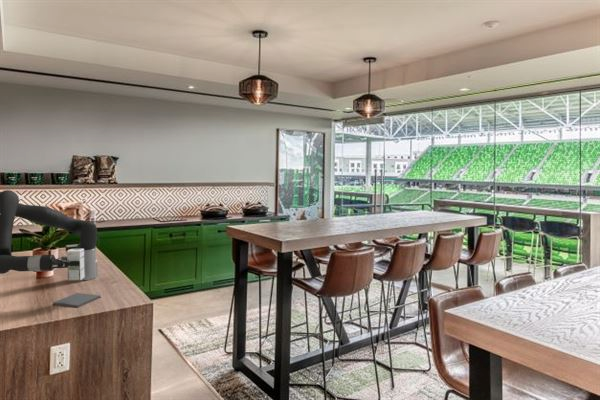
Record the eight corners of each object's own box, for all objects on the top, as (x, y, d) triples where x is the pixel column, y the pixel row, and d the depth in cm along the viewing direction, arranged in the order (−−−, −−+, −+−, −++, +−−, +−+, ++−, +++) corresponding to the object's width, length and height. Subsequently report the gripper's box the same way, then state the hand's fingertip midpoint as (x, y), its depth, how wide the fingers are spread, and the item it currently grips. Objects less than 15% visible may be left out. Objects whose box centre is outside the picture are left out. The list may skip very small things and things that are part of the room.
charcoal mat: (77, 294, 193) (77, 292, 193) (100, 297, 190) (100, 295, 190) (53, 304, 180) (53, 302, 180) (78, 307, 177) (78, 305, 176)
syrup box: (85, 277, 187) (84, 248, 186) (80, 280, 182) (79, 250, 180) (72, 277, 186) (71, 248, 185) (67, 281, 181) (66, 250, 179)
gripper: (35, 258, 172) (77, 257, 177) (46, 251, 186) (85, 250, 191) (35, 275, 173) (77, 273, 177) (47, 267, 187) (85, 265, 191)
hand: (81, 261), depth 184 cm, fingers closed on syrup box, 6 cm apart
